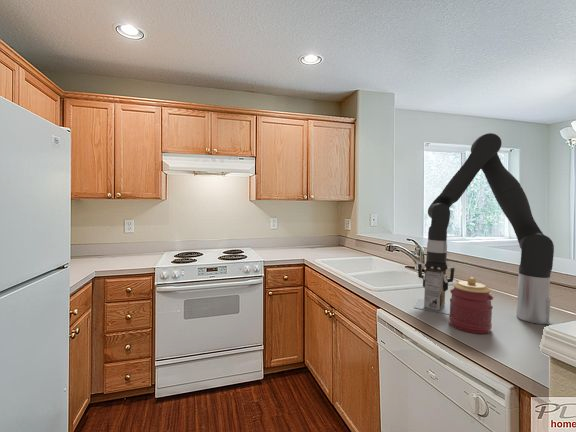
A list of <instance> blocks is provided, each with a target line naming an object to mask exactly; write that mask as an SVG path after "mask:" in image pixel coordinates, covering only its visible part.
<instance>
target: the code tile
mask: <svg viewBox="0 0 576 432" xmlns="http://www.w3.org/2000/svg"><path fill="white" fill-rule="evenodd" d="M413 309H418V310H422V311H428V312H433V313H439V314H443V315H450V303H447V302H445V305H444V306H443V307H442V308H441V310H435V309H431V308H427V307H424V298H423V299H422V298H418V300H417V301H416V302H415V305H414V307H413Z"/></svg>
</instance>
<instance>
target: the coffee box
mask: <svg viewBox="0 0 576 432" xmlns="http://www.w3.org/2000/svg"><path fill="white" fill-rule="evenodd" d="M424 270H425V271H424V273H425V274H424V276H425V288H424V297H423V299H424V307H427V308H431V309H435V310H441V308H442V307H443V306H444V305H445V303H446V292H445V291H444V282H445V281H444V278H443V274H444V275H446V276H447V270H446V271H445V272H444V270H437V269H430V268H425V269H424Z"/></svg>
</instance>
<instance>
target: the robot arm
mask: <svg viewBox="0 0 576 432" xmlns="http://www.w3.org/2000/svg"><path fill="white" fill-rule="evenodd" d="M501 147H502V139H501V137H500V136H499V135H498V134H496V133H492V132H488V133H484V134H482V135H480V136H479V137H477V138H476V140H475V141H473V143H472V144H471V146H470V154H469V156H468V157H467V159H466V160H465V162H463V164H462V165H461V167H460V168H459V169H458V170H457V171H456V172H455V174H454V175H453V177H452V178H451V179H450V180H449V181H448V182H447V184H446V185H445V186H444V189H443V190H442V191H441V193H440V194H439V195H438V196H436V198H435V199H434V200H433V201H432V202H431V204H430V205H429V206H428V208H427V215H428V216H429V218H430V219H431V221H430V226H429V227H428V233H427V235H428V236H427V244H426V262H425V263H422V262H419V263H418V264H417V267H418V269H417V270H418V273H417V275H418V276H417V277H418V278H419V279H422V287H423V288H424V289H425V274H424V275H423V269H424V268H425V269H427V268H430V269H437V270H444V272H445V271H446V272H447V270H448V272H449V273H450V275H449V278H448V277H447V274H446V275H444V274H443V278H444V281H445V282H444V291H445V293H446V292H447V291H448V290H449V283H453V282H454V277H455V270H456V269H455V267H454V266H448V265H447V257H448V256H447V255H448V253H447V252H448V243H447V242H448V241H447V240H448V227H449V224H450V218H451V210H450V208H451V207H452V205H454V203H456V202H458V201H459V200H460V198H461V197H462V195H464V193H465V192H466V190H467V189H468V187H469V186H470V184H471V183H472V182H473V180H474V179H475V177H476V176H477V175H478V174H479V172H480V170H481V171H482V172H483V175H484V176H485V178H486V181H487V184H488V185H489V187H490V189H491V192H492V194H493V196H494V198H495V200H496V202H497V204H498V206H499V207H500V209H501V211H502V212H503V214H504V215H505V217H506V219H507V220H508V222H510V224H511V226H512V228H513V231H514V233H515V236H516V239H517V242H518V244H519V248H520V250H521V252H520V254H521V255H520V264H519V267H518V278H517V279H518V283H517V297H516V301H517V302H516V312H515V313H516V314H515V315H516V318H517V319H520V320H521V321H524V322H528V323H533V324H538V325H549V324H550V315H551V314H550V313H551V298H550V283H551V273H552V270H553V266H554V254H555V253H554V252H555V244H554V242H553V240H552V239H551V238H550V237H549V236H547V235H545V234H544V233H543V231H542V230H541V228H540V227H539V226H538V224H537V222H536V220H535V218H534V216H533V213H532V208H531V206H530V203H529V200H528V197H527V194H526V192H525V191H524V189H523V187H522V186H521V183H520V182H519V181H518V179H517V178H516V177H515V176H514V175H513V174H512V173H511V172H510V171H509V170H507V169H506V167H505V166H504V165H503V162H502V161H501V158H500V156H499V154H498V153H499V152H500V150H501Z"/></svg>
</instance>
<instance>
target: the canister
mask: <svg viewBox="0 0 576 432" xmlns="http://www.w3.org/2000/svg"><path fill="white" fill-rule="evenodd" d="M452 285H453V288H452V289H450V294H451V298H450V299H449V302H450V303H449V304H450V315H449V316H448V319H449V324H450V325H451V326H452V327H453V328H455V329H458V330H460V331H463V332H465V333H466V332H467V333H470V334H477V335H478V334H479V335H481V334H482V335H483V334H489V333H490V332H492V331H491V330H492V326H493V323H492V317H493V316H492V314H493V308H494V307H493V305H492V300H493V299H494V296H493V295H492V294H490V293H491V291H492V290H491V289H490V288H489V287H487V286H486V285H485V284H483V283H480V282H477V279H476V278H475V277H468V278H467V280H460V281H458V282H455V283H453V284H452Z"/></svg>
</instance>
